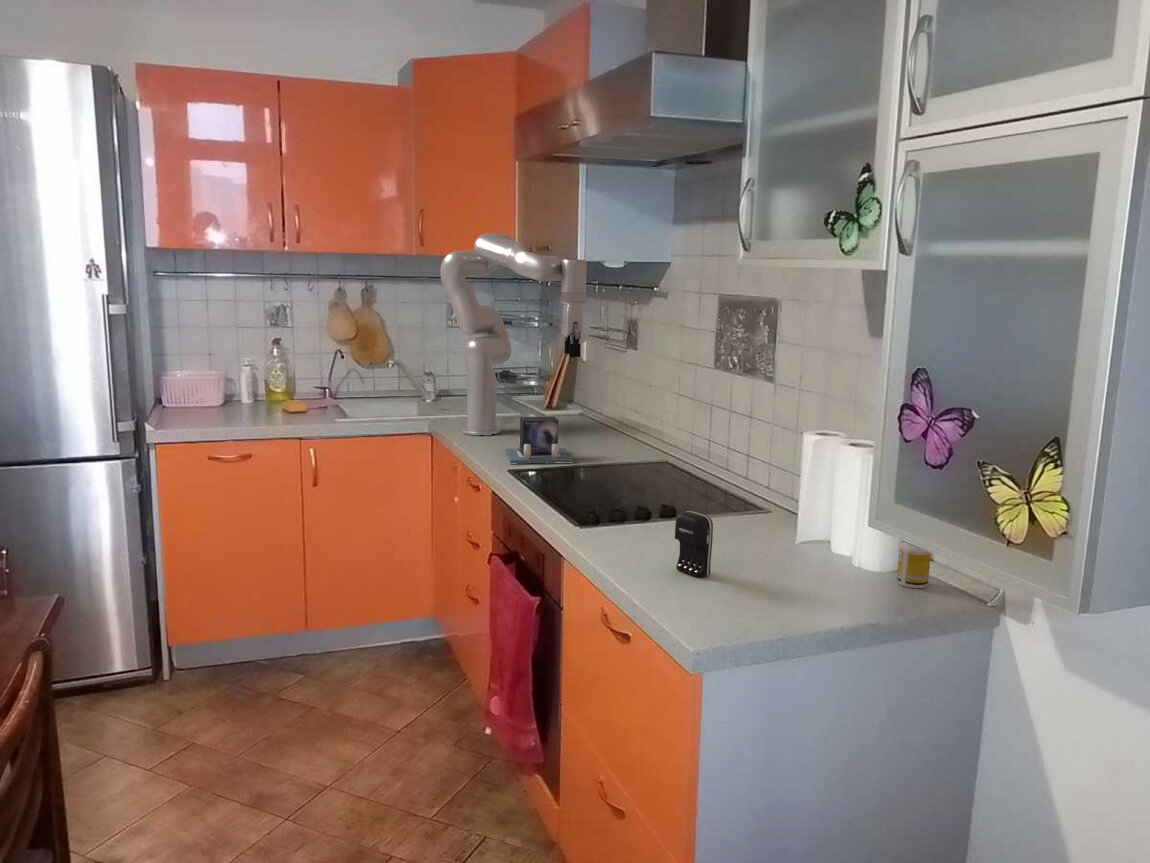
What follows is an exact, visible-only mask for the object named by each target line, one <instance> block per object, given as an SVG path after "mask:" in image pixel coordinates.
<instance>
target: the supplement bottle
mask: <svg viewBox="0 0 1150 863" xmlns="http://www.w3.org/2000/svg"><path fill="white" fill-rule="evenodd" d="M898 551H899V552H898V560H897V561H898V562H897V572H896V573H897V574H896V582H897V584H899V585H901V586H902V587H905V588H909V589H915V590H916V589H924V588H926V587H927V586H928V585H929V579H930V578H929V577H930V568H931V557H932V556H931V555H932V552H931V553H929V552H927V551H925V550H922V549H919V548H917V547H915V546H912V545H910V544H908V543H905V541H902V543H900V545H899V550H898Z"/></svg>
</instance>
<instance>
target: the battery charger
mask: <svg viewBox="0 0 1150 863" xmlns="http://www.w3.org/2000/svg"><path fill="white" fill-rule="evenodd" d="M675 519H676V520H675V525H674V526H675V527H674V528H675V529H674V540H678V542H679V556H678V559H677V563H676V569H677V571H679V572H682V573H684V574H687V575H689V576H693V577H696V578H703V577H708V576H710V575H711V560H712V550H713V549H712V548H713V537H714V536H713V533H714V531H713V529H714V523H713V520H712V518H711V517H710V516H708V515H706V514H703V513H700V512H697V511H693V510H688V511H685V512H681V513H679V514H678V515H677V516H676V518H675Z"/></svg>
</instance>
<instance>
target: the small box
mask: <svg viewBox="0 0 1150 863" xmlns="http://www.w3.org/2000/svg"><path fill="white" fill-rule="evenodd" d="M519 421H520V422H519V436H520V448H519V451H520V453H521V454H522V455H523V456H524V444H531V456H534V455H552V444H559V419H558V418H557V417H555V416H520V417H519Z"/></svg>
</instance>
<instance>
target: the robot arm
mask: <svg viewBox="0 0 1150 863" xmlns="http://www.w3.org/2000/svg"><path fill="white" fill-rule="evenodd" d="M556 256H557V255H540V254H536V253H533V252H530V251H527V249H526V247H525V245H524V244H523V243H521V242H518V241H515V240H514V239H513V238H512V237H511V236H509V235H508V234H504V233H493V232H491V233H490V232H486V233H483V234H481V235H479V236H478V237H476V239H475V241H474V250H456V251H455V250H454V251H450V252H449V253H447V255H446V256H444V258H443V260H442V262H441V264H440V271H439V274H440V279H441V282H442V285H443V288H444V290H445V292H446V294H447V296H448V298H449V301H450V305H451V307H452V310H453V313H454V315H455V318H456V322H457V324H458V327H459V330H460V331H461V332H462V333H463V334H464V335H468V336H474V335H481V336H478V337H477V336H476V337H474V338H471V339H469V340H468V342H467V343H466V344H465V346H464V350H463V357H464V361H465V367H466V388H467V390H466V391H467V392H466V395H467V396H466V400H467V402H466V404H467V405H466V406H467V407H466V410H467V412H466V414H467V415H466V419H467V420H466V424H467V426H466V427H465V426H464V427H463V428H462V433H464V434H465V435H469V436H480V435H484V436H493V435H492V434H495V435H498V433H499V434H500V433H501V431H502V430H501V428H500V427H498V426H497V377H496V373H495V371H494V368H493V365H501V364H504V363H506V362H508V361H509V359H510V358H511V355H512V344H511V341H510V338H509V335H508V333H507V330H506V326H505V324H504V321H503V318H502V316H501V314H500V312H499V311H498V310H497V309H496V308H495V307H493V306H492V305H487V304H480V303H479V301H478V299H477V296H476V292H475V290H474V289H473V287H472V285H471V284H470V283H469V282H468V281H467V279H466V278H482V277H485V276H487V275H490V274H491V273H492V272H494V271H496V270H497V269H499V268H500V267H501V266H502V267H505V268H508V269H511V270H512V271H513V272H515V274H517V275H520V276H523V277H525V278H528V279H532V280H535V281H538V282H559V281H560V282H561V283H560V292H561V293H560V304H563V307H562V323H561V325H562V326H561V334H562V336H564V354H565V355H569V358H581V348H582V347H581V337H582V335H583V305H586V303H587V299H586V298H587V271H588V270H587V269H588V268H587V266H588V264H587V260H586V261H583V260H567V259H557V258H558V257H556Z"/></svg>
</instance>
